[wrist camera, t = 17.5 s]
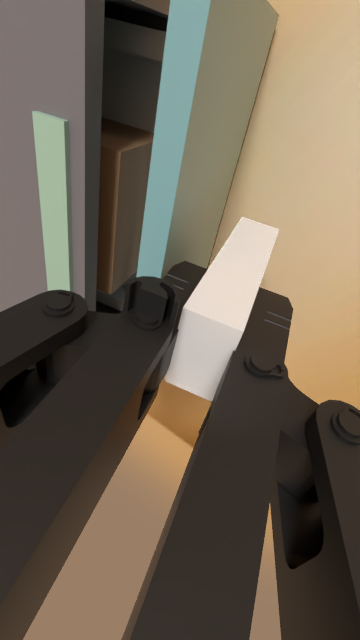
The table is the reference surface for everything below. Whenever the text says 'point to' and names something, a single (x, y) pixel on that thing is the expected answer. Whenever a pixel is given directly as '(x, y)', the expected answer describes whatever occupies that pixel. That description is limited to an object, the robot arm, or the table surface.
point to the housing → (54, 141)
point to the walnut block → (121, 201)
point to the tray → (186, 118)
